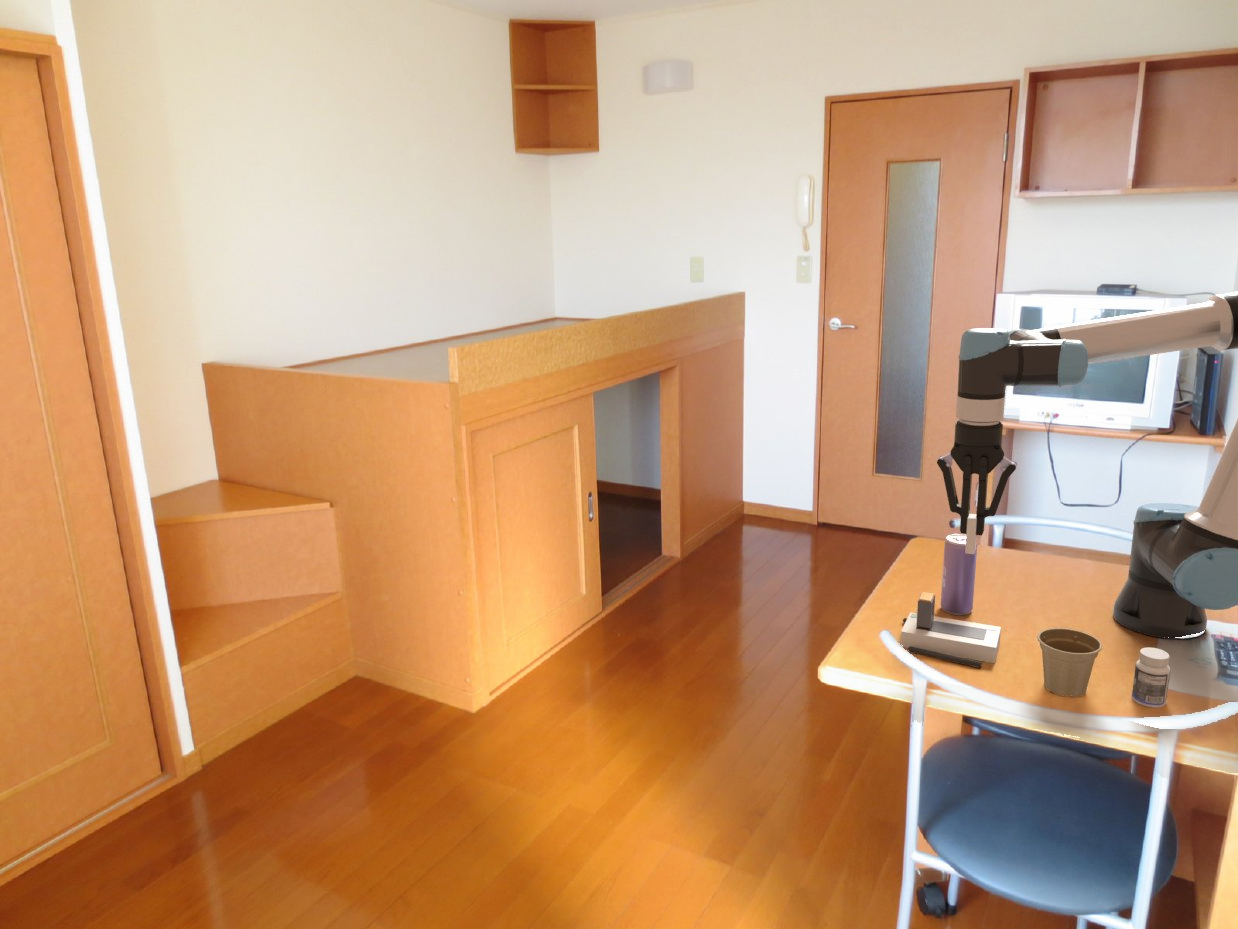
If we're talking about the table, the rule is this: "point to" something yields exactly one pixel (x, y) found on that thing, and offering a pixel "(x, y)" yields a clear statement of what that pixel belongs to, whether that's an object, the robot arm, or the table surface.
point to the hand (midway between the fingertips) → (970, 551)
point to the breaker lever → (925, 610)
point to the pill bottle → (1151, 678)
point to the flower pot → (1068, 660)
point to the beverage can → (958, 576)
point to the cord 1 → (945, 657)
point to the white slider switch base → (953, 638)
